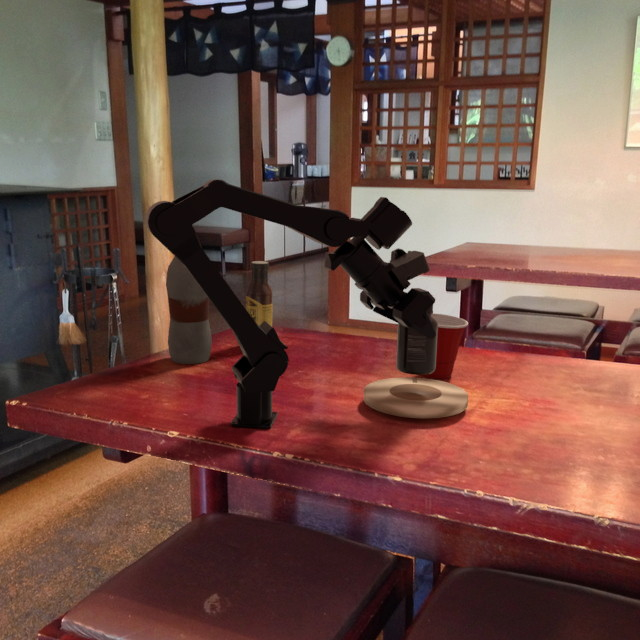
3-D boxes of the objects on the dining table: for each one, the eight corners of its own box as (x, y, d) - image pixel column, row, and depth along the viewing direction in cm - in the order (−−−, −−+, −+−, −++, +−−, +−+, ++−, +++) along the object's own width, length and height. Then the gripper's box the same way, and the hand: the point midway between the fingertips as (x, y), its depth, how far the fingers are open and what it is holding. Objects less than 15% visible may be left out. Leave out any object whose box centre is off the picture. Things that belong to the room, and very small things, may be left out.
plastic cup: (461, 385, 129) (464, 325, 127) (406, 379, 133) (408, 320, 130) (468, 371, 139) (472, 314, 137) (417, 365, 143) (419, 310, 140)
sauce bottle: (242, 343, 160) (241, 260, 156) (266, 341, 163) (266, 259, 158) (251, 349, 154) (250, 263, 150) (276, 347, 157) (276, 262, 153)
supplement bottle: (443, 370, 116) (447, 302, 114) (420, 378, 111) (425, 307, 109) (410, 362, 121) (414, 297, 118) (387, 369, 116) (390, 301, 113)
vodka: (161, 363, 141) (156, 220, 135) (176, 352, 150) (172, 218, 144) (204, 366, 140) (201, 221, 134) (217, 355, 149) (215, 219, 143)
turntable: (472, 421, 107) (473, 411, 107) (360, 414, 109) (360, 405, 109) (463, 387, 125) (463, 379, 124) (366, 382, 127) (366, 374, 126)
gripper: (427, 239, 101) (485, 308, 107) (378, 230, 119) (431, 290, 124) (377, 292, 100) (438, 359, 106) (335, 275, 118) (390, 333, 123)
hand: (424, 332), depth 115 cm, fingers closed on supplement bottle, 7 cm apart
